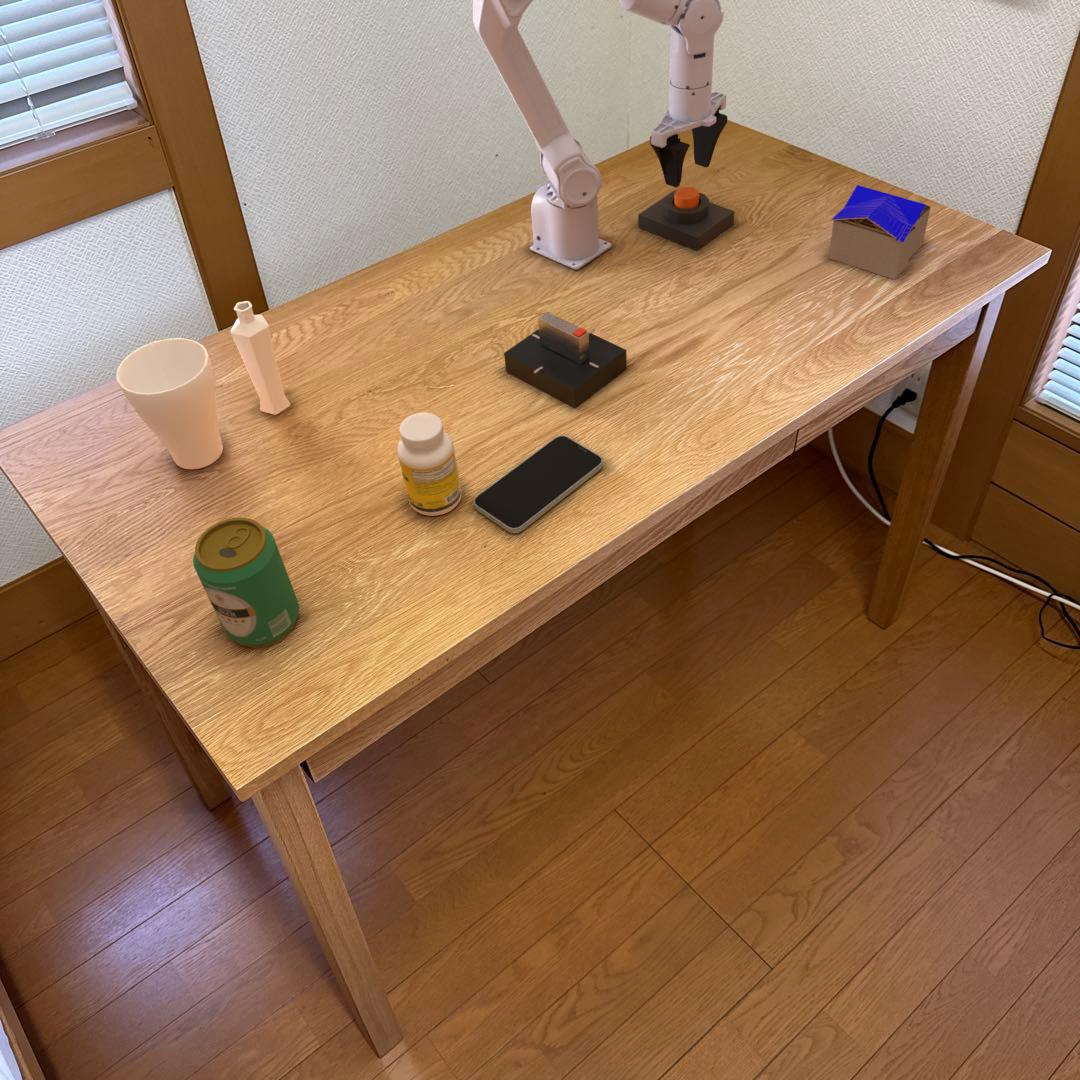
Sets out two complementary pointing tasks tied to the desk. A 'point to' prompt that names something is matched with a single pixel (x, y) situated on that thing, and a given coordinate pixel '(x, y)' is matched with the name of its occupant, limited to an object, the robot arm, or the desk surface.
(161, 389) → the cup
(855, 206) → the house
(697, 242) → the button block
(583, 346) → the tap handle
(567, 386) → the panel
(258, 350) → the perfume bottle
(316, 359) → the desk surface
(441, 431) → the pill bottle
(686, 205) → the button
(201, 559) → the beverage can
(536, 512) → the smartphone
